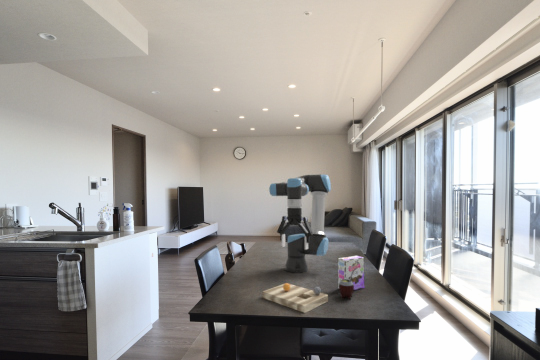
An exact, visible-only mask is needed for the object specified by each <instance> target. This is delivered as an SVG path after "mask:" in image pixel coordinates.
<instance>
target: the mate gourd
mask: <svg viewBox="0 0 540 360" xmlns="http://www.w3.org/2000/svg"><path fill="white" fill-rule="evenodd" d="M356 269H357V268H356ZM356 269H354V270H353V271H352V274H351V277H352V275H353V273H354V271H355V270H356ZM351 277H350V279H349V280H348V279H343V280H341V281H340V283H339V292H340V298H341V299H348V300H349V301H350V300H352V298H351V297H353V293H354V291H355V290H354V285H353V282H352V281H351Z"/></svg>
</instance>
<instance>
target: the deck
mask: <svg viewBox="0 0 540 360" xmlns="http://www.w3.org/2000/svg"><path fill="white" fill-rule="evenodd" d="M284 284H285V283H282V284H279V285H277V286H274V287H272V288H268V289H266V290H263V291H262V299H266V300H267V301H271V302H273V303H276V304H279V305H281V306H285V307H286V308H287V307H288V308H290V309H293V310H294V311H295V310H296V311H298V312H301V313H302V314H303V313H304V314H306V313H309V311H312V310H314V309H316V308H319V306H321V305H324V304H326V303H328V302H329V295H328V294H326V293H323V292H321V293H320V294H319V295H316V294H315V293H314V291H313V290H314V289H309V288H306V287H301V286H298V285H294V284H292V283H288V284H289V285H290V290H289V291H285V290H284V289H283V285H284Z"/></svg>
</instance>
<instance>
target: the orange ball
mask: <svg viewBox="0 0 540 360" xmlns="http://www.w3.org/2000/svg"><path fill="white" fill-rule="evenodd" d="M283 284H284V285H283V289H284V290H285V291H289V290H290V285H289V284H290V283H288V282H286V283H283Z"/></svg>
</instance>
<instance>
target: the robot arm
mask: <svg viewBox="0 0 540 360" xmlns="http://www.w3.org/2000/svg"><path fill="white" fill-rule="evenodd" d="M331 185H332V184H331V180H330V177H329V175H328V174H322V173H321V174H305V175H304V174H303V175H300V176H297V177H292V178H288V179H287V181H283V182H276V183H275V182H274V183H273V182H272V183H271V184H270V185H269V188H268V189H269V190H268V191H269V194H270V196H271V197H287V201H286V202H287V213H286V214H287V216H286V215H283V216H282V217H281V221H280V224H279V226H278V229H277V230H276V233H277V234H279V236H280V241H281V248H284V247H286V246H287V259H286V263H285V266H284V270H285V271H286V272H290V273H304V272H307V271H308V270H309V266H308V263H307V260H306V255H308V256H317V257H319V256H320V257H323V256H325V255H326V254H327V252H328V249H329V238H328V237H327V235H326V233H325V213H326V212H325V210H326V196H328V195H329V192H331V190H332V186H331ZM309 192H310V195H311V196H312V197H311V198H312V199H311V200H312V201H311V202H312V203H311V218H310V223H309V221H308V216H303V217H302V212H303V211H302V210H303V209H302V203H303V202H302V201H303V200H302V197H305V196H307V195H309V194H308V193H309ZM286 221H287V222H286ZM303 223H304V225H303ZM290 226H298V227H299V228H300V229H301V230H302V231H301V232H303V233H296V234H291V235H288V236H287V242H286V234H285V232H286V231H287V230H288V228H289V227H290ZM286 243H287V245H286Z"/></svg>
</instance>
